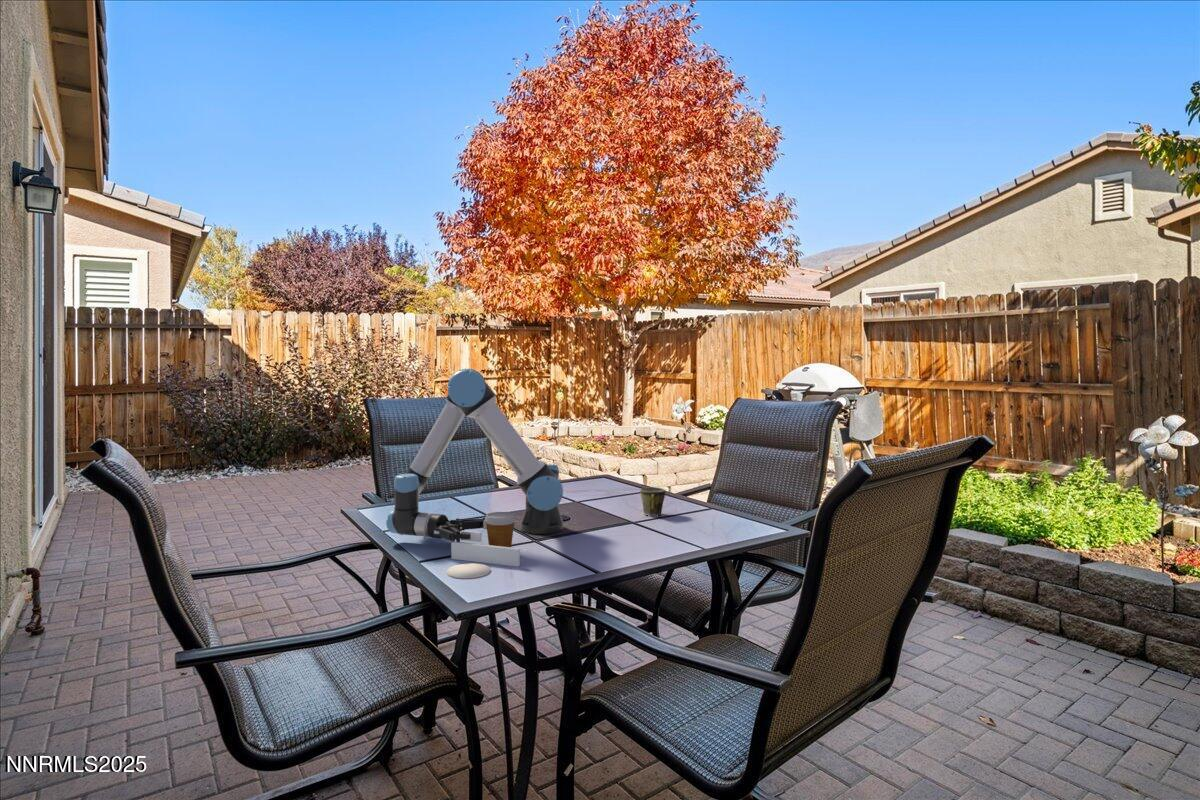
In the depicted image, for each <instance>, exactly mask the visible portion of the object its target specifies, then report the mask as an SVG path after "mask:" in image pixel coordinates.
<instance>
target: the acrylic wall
mask: <svg viewBox="0 0 1200 800" xmlns="http://www.w3.org/2000/svg"><path fill="white" fill-rule="evenodd" d="M450 543H451V544H450V545H451V546H450V547H451V551H450V552H451V556H450V557H451V559H452V560H460V561H467V562H468V561H469V562H476V563H481V564H482V563H484V564H493V565H501V566H510V567H518V568H519V567H520V566H521V564H520V563H521V548H518V547H511V548H510V547H501V546H492V545H489V544H480V543H471V542H465V541H464V542H463V541H460V542H456V540H455V541H453V542H452V541H450Z"/></svg>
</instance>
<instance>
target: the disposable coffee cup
mask: <svg viewBox="0 0 1200 800" xmlns="http://www.w3.org/2000/svg"><path fill="white" fill-rule="evenodd" d="M484 518H485V519H484V520H485V522H486V526H487V529H486V534H487V541H488V542H487V543H488V545H492V546H501V547H510V548H512V544H513V537H514V536H513V535H514V526H515V523H516V522H515V521H516V520H517V518H516V517H515V514H514V513H513V512H509V511H494V512H489V513H486V514H485V517H484Z"/></svg>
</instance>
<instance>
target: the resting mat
mask: <svg viewBox="0 0 1200 800" xmlns="http://www.w3.org/2000/svg"><path fill="white" fill-rule="evenodd" d="M490 572H491V568H490V566H488V565H486V564H482V563H473V562H472V563H462V564H456V565H453V566H450V567H449V568H447V570H446V575H447V576H448V577H450V578H453V579H459V580H460V579H461V580H464V579H465V580H469V579H478V578H481V577H485V576H487V575H489V574H490Z"/></svg>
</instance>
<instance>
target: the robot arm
mask: <svg viewBox="0 0 1200 800" xmlns="http://www.w3.org/2000/svg"><path fill="white" fill-rule="evenodd" d="M496 398H497V396H496V394H495V393H494V392H493V390H492V389H491V387H490V386H489V385H488V382H486V379H485V377H484V376H483V374H481V372H479V371H477V370H475V369H472V368H463V369H459V370H458V371H456V372H454V373H453V374H452V375H451V376H450V377H449V380H448V383H447V396H446V397H445V399H444V400H445V405H444V406H443V408H442V410H441V412H440V414H439V415H438V417H437V419H436V421H435V422H434V424H433V426H432V428H431V430H430V431H429V433H428V434H427V436H426V438H425V440H424V441H423V443H422V445H421V446H420V449H419V450H418V452H417V453H416V455H415V457H414V458H413V461H412V462H411V464H410V466H409V468H408V470H407V471H406V473H400V474H397V475H395V477H394V480H393V481H394V483H393V489H394V491H393V492H394V497H393V498H394V509H393V510H392V511H390V512H389V513H388V515H387V519H386V520H385V521H386V523H385V524H386V528H387V530H388V532H390V533H392V534H396V535H401V536H403V535H405V536H416V537H422V538H423V539H427V538H433V539H445V540H447V541H449V542H453V541H455V542H461V541H469V542H476V543H477V542H478V543H480V542H482V532H480V531H471V530H477V529H483V530H487V526H486V522H485V520H484V519H485V518H486V517H483V518H457V517H456V518H455V519H450V520H449V518H448V516H447V515H446V514H443V513H442V514H440V513H429V512H420V511H419V509H420V508H419V505H420V504H419V501H420V500H419V495H420V494H421V493H422V492H423V490H424V488H425V487H426V484H427V483H428V480H429V479H430V477H431V475H432V473H433V472H434V470H435V468H436V467H437V465H438V463H439V461H440V460H441V458H442V456H443V455H444V453H445V451H446V450H447V447H448V446H449V444H450V442H451V441H452V439H453V437H454V435H455V434H456V432H457V430H458V428H459V427H460V425H461V423H462V422H463V421H464V418H465V417H466V418H470V419H473V420H474V421H475V422H476V423H477V425H478V426H479V427H480V429H481V430H482V431H483V433H484V434H485V436H486V437H487V438H488V440H489V441H490V443H492V445H493V446H494V447H495V448H496V450H497V452H498V453H499V454H500V456H501V457H502V458H503V459H504V460H505V461H506V463H507V464H508V466H509V467H510V469H511V470H512V471H513V472H514V474H515V475H516V484H517V485H518V487H519V488H520V490H521V491H522V493H524V494H523V495H525V507H524V508H525V509H524V512H523V515H522V518H521V521H520V530H521V531H522V532H524V533H525V534H526V533H527V534H535V535H550V534H555V533H559V532H562V531H563V530H564V519H563V517H562V513H561V510H560V505H559V504H560V503H561V501H562V498H563V496H564V487H563V484H562V483H561V481H560V478H559V477H560V476H559V475H560V470H559V465H557V464H547V462H546V461H542V460H539V459H538V458H537V457H536V455H535V454H534V453H533V451H532V450H531V449H530V448H529V446H528V444H527V443H526V442H525V441H524V439H523V438H522V436H520V434H519V433H518V431H517V430H516V429H515V428H514V427H515V426H513V425H512V423H511V422H510V421H509V419H508V417H506V415H505V414H504V412H503V411H502V410H501V409H500V407H499V406H498V405H497V403H496Z"/></svg>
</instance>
